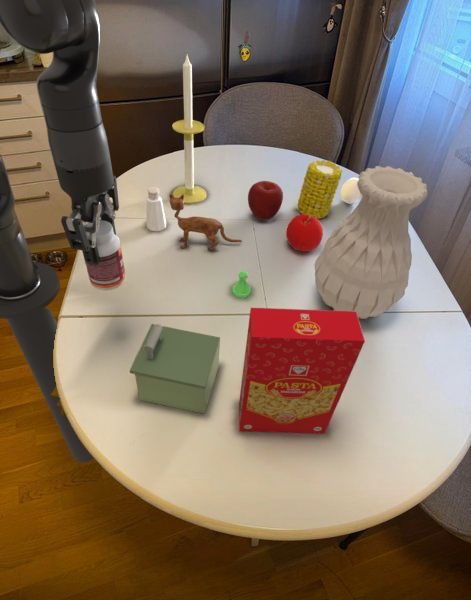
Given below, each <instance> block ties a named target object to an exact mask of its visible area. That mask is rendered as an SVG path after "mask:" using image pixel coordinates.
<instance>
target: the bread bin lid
mask: <svg viewBox="0 0 471 600" xmlns="http://www.w3.org/2000/svg"><path fill="white" fill-rule="evenodd" d="M219 342H220V343H221V337H220V336H215V335H209V334H206V333H205V334H204V333H201V332H195V331H189V330H185V329H180V328H174V327H171V326H165V325H161V324H157V323H156V324H155V323H151V325H150V327H149V329H148V331H147V333H146V335H145V337H144V339H143V341H142V343H141V345H140V348H139V350H138V351H137V354H136V356H135V358H134V360H133V362H132V365H131V366H130V369H129V373H130V374H133V375H135V374H137V375H142V376H146V377H151V378H156V379H160V380H165V381H170V382H174V383H179V384H184V385H189V386H193V387H198V388H203V389H205V388H206V384H207V381H208V378H209V375H210V371H211V368H212V365H213V362H214V358H215V355H216V352H217V348H218V345H219Z"/></svg>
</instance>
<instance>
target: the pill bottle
mask: <svg viewBox="0 0 471 600" xmlns="http://www.w3.org/2000/svg"><path fill="white" fill-rule="evenodd" d="M84 224H85V225H87V226H93V223H89V222H86V223H84ZM86 235H87V238H88V239H89V238H90V234H89V232H86ZM96 244H97V249H98V253H99V258H100V262H99V264H98V265H93V264H88V263H86V262H85V261H84V263H85V267H86V272H87V275H88V279H89V282H90V284H91V286H92V287H94V288H95V289H97V290H100V291H113V290H115V289H118V288H119V287H121V286H122V285H123V284H124V283H125V281H126V279H127V278H126V269H125V263H124V257H123V252H122V246H121V240H120V238H119V237H118V236H117V234H116V235H115V234H114V231H113V227H112V225H111V224H110V223H109V222H107V221H103V220H100V226H99V231H98V232H97V233H96Z"/></svg>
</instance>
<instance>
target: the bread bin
mask: <svg viewBox="0 0 471 600" xmlns="http://www.w3.org/2000/svg"><path fill="white" fill-rule="evenodd" d="M220 347H221V341H220V342H219V345H218V348H217V352H216V355H215V358H214V362H213V365H212V368H211V371H210V375H209V378H208V381H207V384H206V388H205V389H203V388H198V387H193V386H189V385H184V384H179V383H174V382H170V381H165V380H160V379H156V378H151V377H146V376H142V375H137V374H134V378H135V382H136V388H137V393H138V398H139V400H140V401H144V402H149V403H153V404H158V405H161V406H167V407H171V408H176V409H179V410H185V411H190V412H194V413H199V414H204V415H205V414H206V411H207V408H208V404H209V401H210V397H211V394H212V390H213V387H214V384H215V381H216V378H217V377H216V376H217V373H218V370H219V365H220V349H221V348H220Z"/></svg>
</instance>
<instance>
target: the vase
mask: <svg viewBox="0 0 471 600" xmlns="http://www.w3.org/2000/svg"><path fill="white" fill-rule="evenodd" d="M357 179H359V180H358V183H357V185H358V189H359V191H360V193H361V195H362V197H361V198H360V200H359V201H358V204H357V206H356V207H355V208H354V209H353V210H352V212H351V213H350V214H349V215H348V216H347V217H346V218H345V219H343V220H342V221H341V222H340V223H339V224H338V226H337V227H336V228H334V230H333V231H332V233H331V234H330V236H329V238H328V239H327V240H326V242H325V243H324V246H323V248H322V251H321V252H320V254H319V255H318V257H317V258H316V260H315V261H314V279H315V287H316V291H317V293H318V295H319V296H320V297H321V298H322V301H323V303H324V304H325V305H327V306H328V307H330V308H333V311H354V312H357V315H358V318H359V319H362V320H364V319H365V320H366V319H368V318H378V317H380V316H382V315H384V313H385V312H387V311H388V310H391V309H392V308H393V307H394V306H395V305H396V304H397V303H398V302H399V301H400V300H401V299H403V297H404V296H405V292H406V289H407V288H408V286H409V278H410V269H411V266H412V259H413V254H412V238H411V236H410V233H409V223H410V213H411V211H412V209H415V208H416V207H418V206H420V205H421V204H422V203H423V202H424V201H425V200H426V199H427V197H428V194H429V193H428V185H427V183H424V182H423V179H422V178H421V177H417V176H415V175H414V173H413V172H411V171H409V172H408V171H405V170H403V168H400V167H398V168H394V167H392V166H388V165H386V166H385V167H384V166H383V167H382V166H380V165H375V167H374V168H371V167H367V168H365V170H364V171H361V172H360V173H359V175H358V178H357Z"/></svg>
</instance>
